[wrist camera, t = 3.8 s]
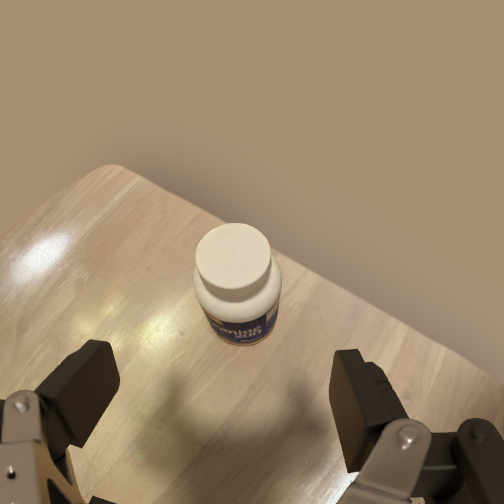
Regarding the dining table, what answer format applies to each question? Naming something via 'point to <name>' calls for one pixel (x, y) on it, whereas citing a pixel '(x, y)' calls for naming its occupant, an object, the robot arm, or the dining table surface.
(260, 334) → the pill bottle
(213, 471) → the dining table surface
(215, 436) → the dining table surface
